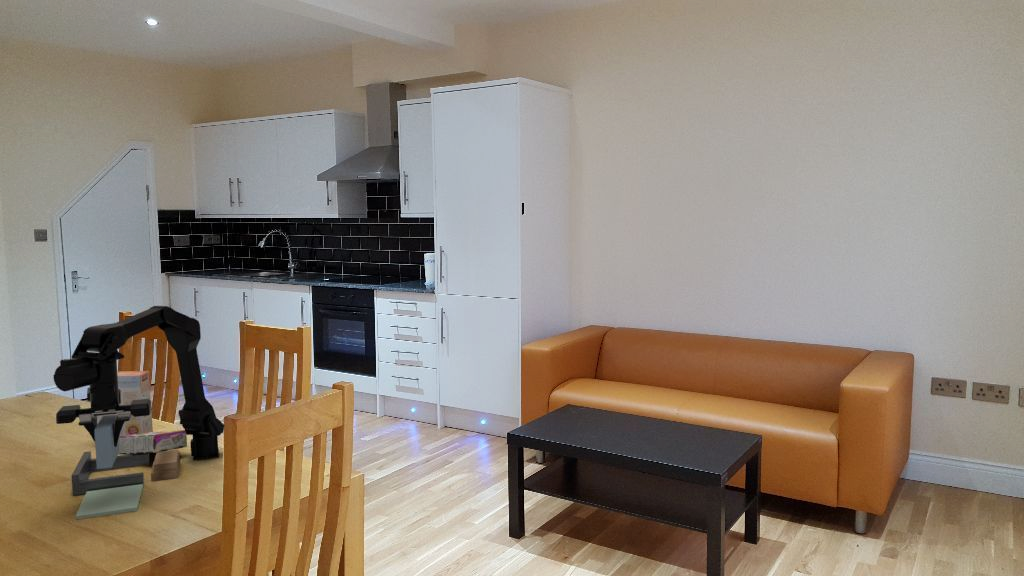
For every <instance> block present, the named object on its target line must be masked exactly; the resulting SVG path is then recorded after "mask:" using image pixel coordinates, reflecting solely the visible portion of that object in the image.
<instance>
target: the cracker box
mask: <svg viewBox="0 0 1024 576" xmlns="http://www.w3.org/2000/svg"><path fill="white" fill-rule="evenodd" d="M117 375H118V389H120V390H121V404H119V405H130V404H131V403H132V401H133V400H141V399H149V400H150V401H151V402H152V399H151V397H152V396H151V385H150V371H149V370H140V371H139V370H132V371H131V370H130V371H128V370H127V371H126V370H125V371H117ZM108 411H111V410H108ZM112 411H113V410H112ZM95 412H100V411H95ZM152 413H153V412H152V411H151V413H150V415H148V416H139V417H134V416H133V415H132V416H131V418H130V420H129V421H125V422H124V424H123V427H122V430H121V433H120V436H124V435H131V434H137V433H148V432H154V431H153V416H152V415H153V414H152ZM110 415H116V414H110ZM110 415H99V416H97V425H98V423H99V421H100V420H101V418H102V416H110Z"/></svg>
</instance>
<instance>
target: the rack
mask: <svg viewBox="0 0 1024 576" xmlns="http://www.w3.org/2000/svg"><path fill="white" fill-rule="evenodd" d="M150 462H151V461H150V453H138V454H119V455H117V457H116V460H115V462H114V464H113V466H112V468H103V469H97V464H96V457H95V458H92V452H91V451H83V453H82V455H81V457H80V459H79V461H78V463H77V464H76V466H75V468H74V470H73V472H72V474H71V475H70V476H71V487H72V488H71V489H72V496H73V497H75V496H80V495H85V494H86V492H87V491H94V490H102V489H109V488H117V487H124V486H132V485H139V484H143V487H144V486H145V478H144V477H145V476H144V472H142V471H141V472H136V473H135V472H134V473H127V474H118V475H112V476H111V475H110V476H104V477H96V478H90V476H91V473H94V472H102V471H111V470H116V469H117V470H119V469H127V468H135V467H142V466H149V465H150Z"/></svg>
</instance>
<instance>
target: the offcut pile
mask: <svg viewBox="0 0 1024 576" xmlns="http://www.w3.org/2000/svg"><path fill="white" fill-rule="evenodd" d="M180 456H181V455H180V454H179V449H173V450H168V451H162V452H156V454H155V457H154V459H153V463H152V468H151V472H150V480H151V482H156V480H157V481H164V480H165V481H166V480H171V479H178V478H179V472H180V470H179V469H180V464H181V463H180V462H181V460H180V459H181V457H180Z"/></svg>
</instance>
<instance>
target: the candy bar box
mask: <svg viewBox="0 0 1024 576" xmlns="http://www.w3.org/2000/svg"><path fill="white" fill-rule="evenodd" d="M187 436H188V435H187V434H186V432H185V429H183V430H179V429H177V430H169V431H168V430H166V431H163V430H162V431H153V432H148V433H137V434H131V435H124V436H120V437H119V440H118V442H119V453H118V455H117V456H120V455H129V454H138V453H149V454H152V453H153V454H155V453H157V452H164V451H172V450H179V449H183V448H187V447H188V441H187V439H188V437H187Z"/></svg>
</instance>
